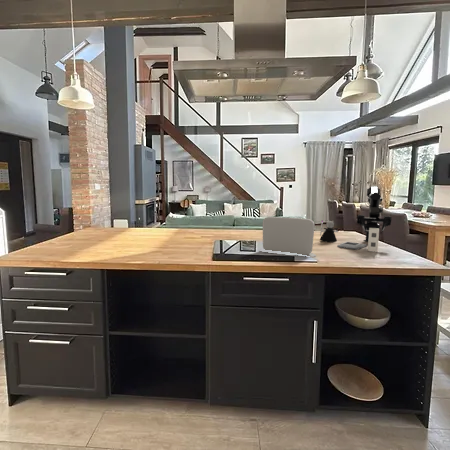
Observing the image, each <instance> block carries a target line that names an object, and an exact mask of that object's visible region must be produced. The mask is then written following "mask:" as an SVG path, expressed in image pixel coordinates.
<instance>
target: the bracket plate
mask: <svg viewBox="0 0 450 450" xmlns="http://www.w3.org/2000/svg"><path fill="white" fill-rule="evenodd" d="M365 247H368V244H365V243H361V242H360V243H359V242H352V241H351V242H350V241H345V242H341V243H340V244H338V245H337V248H342V249H349V250H356V251H357V250H361V249H363V248H365Z"/></svg>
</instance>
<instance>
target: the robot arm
mask: <svg viewBox="0 0 450 450" xmlns="http://www.w3.org/2000/svg"><path fill="white" fill-rule="evenodd" d="M366 197H367V203H368V204H369V206H368V217H367V216H365V215H364V214H363V215H362V214H358V215H357V218H356V220H357V221H356V224H357V225H360V226H361V227H362V229H363V230H364V233H365V239H363V242H368V239H369V228H379V230H380V229H381V233H383V231H384V229H385V228H386V227H388V226H391V223H392V216H389V215H388V216H387V215H384V216H383V218H380V216H381V215H380V214H384V213H383V212H384V207H383V206H380V204H381V203H382V201H383V198H382V196H381V189H380V188H379V186H377V185H371V186H370V187H369V188H367V189H366ZM380 223H382V227H381V228H380Z"/></svg>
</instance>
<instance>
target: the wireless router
mask: <svg viewBox="0 0 450 450" xmlns="http://www.w3.org/2000/svg"><path fill="white" fill-rule="evenodd" d="M314 235H315V222H314V220H312V219H310V218H301V217H300V218H299V217H290V216H289V217H286V216H267V217H265V218H264V219H262V249H265V250H272V251H281V252H290V253H297V254H302V255H307V256H310V257H312V258H316V257H317V255H316V253H312V251H313V247H314Z"/></svg>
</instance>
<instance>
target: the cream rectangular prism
mask: <svg viewBox="0 0 450 450" xmlns="http://www.w3.org/2000/svg"><path fill="white" fill-rule="evenodd" d="M368 231H369V239H368V241H367V251H368V252H374V251H375V252H376V253H377V252H378V251H379V240H380V237H379V236H380V229H379V228H369V230H368Z"/></svg>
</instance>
